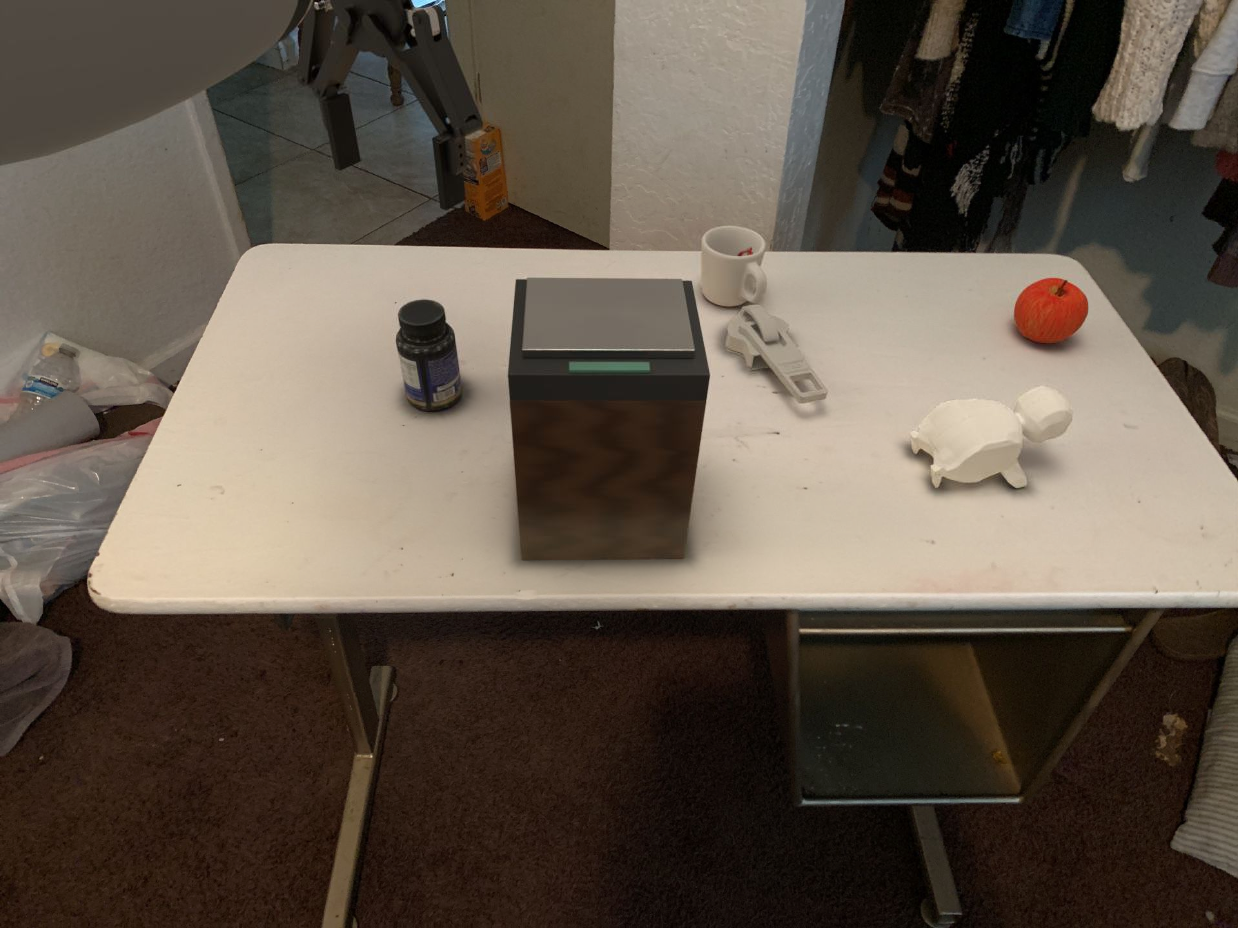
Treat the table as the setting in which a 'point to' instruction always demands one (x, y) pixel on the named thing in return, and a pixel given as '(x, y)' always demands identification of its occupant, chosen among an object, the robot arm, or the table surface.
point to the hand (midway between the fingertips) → (399, 184)
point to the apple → (1050, 310)
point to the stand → (605, 477)
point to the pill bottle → (428, 356)
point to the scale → (606, 341)
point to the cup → (732, 266)
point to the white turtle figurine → (989, 434)
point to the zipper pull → (772, 350)
